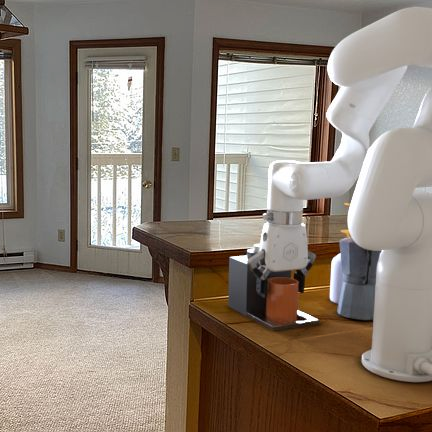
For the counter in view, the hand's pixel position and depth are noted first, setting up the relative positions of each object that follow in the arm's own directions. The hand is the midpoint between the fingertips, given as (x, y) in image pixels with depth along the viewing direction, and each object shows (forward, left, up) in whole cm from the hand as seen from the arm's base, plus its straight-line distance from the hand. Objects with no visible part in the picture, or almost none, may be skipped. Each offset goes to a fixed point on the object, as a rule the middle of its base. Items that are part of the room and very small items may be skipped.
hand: (280, 293), depth 124 cm
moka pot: (-5, -18, -6) cm, 20 cm away
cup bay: (-1, 0, -6) cm, 6 cm away
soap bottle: (+5, -24, -6) cm, 25 cm away
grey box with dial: (+8, 0, -6) cm, 10 cm away
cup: (-1, 0, -6) cm, 6 cm away
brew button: (+8, 0, +8) cm, 11 cm away
